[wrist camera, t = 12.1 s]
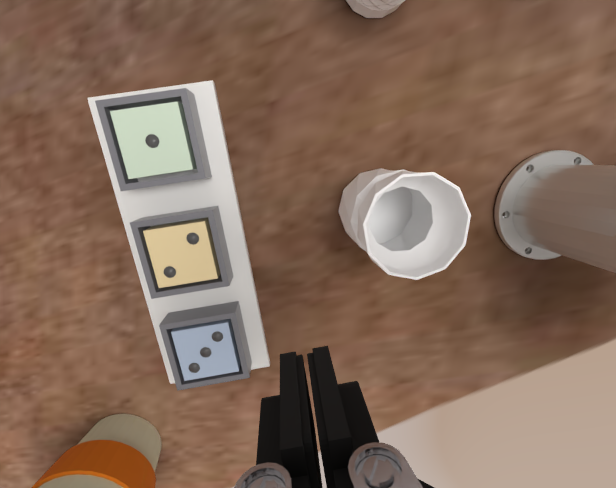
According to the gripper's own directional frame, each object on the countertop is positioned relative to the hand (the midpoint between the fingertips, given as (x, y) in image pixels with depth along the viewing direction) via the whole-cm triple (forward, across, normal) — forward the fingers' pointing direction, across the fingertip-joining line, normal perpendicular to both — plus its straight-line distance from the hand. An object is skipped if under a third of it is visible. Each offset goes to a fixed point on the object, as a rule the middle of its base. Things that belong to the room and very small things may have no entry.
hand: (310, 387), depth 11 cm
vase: (+27, -10, -1) cm, 29 cm away
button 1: (+26, +11, -11) cm, 30 cm away
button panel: (+27, +11, 0) cm, 29 cm away
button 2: (+26, +11, 0) cm, 28 cm away
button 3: (+26, +11, +11) cm, 30 cm away
